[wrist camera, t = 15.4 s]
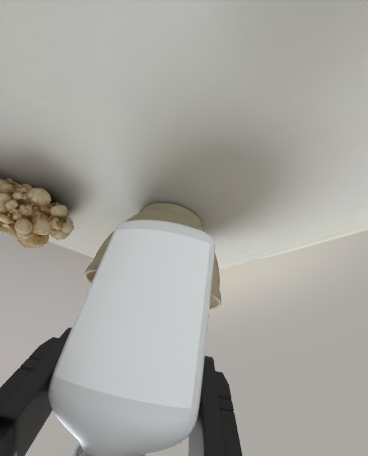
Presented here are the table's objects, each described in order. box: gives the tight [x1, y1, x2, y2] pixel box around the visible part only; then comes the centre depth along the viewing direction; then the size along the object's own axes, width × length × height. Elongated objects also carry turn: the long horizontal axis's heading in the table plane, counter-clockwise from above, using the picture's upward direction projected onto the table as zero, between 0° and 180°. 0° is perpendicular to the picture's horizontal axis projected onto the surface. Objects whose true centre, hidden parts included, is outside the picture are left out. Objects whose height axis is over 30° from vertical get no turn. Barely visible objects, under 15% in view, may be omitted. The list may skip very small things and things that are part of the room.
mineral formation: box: [0, 178, 74, 248], centre depth 27 cm, size 8×13×15 cm
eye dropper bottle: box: [48, 220, 215, 456], centre depth 8 cm, size 4×6×12 cm
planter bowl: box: [84, 203, 221, 310], centre depth 25 cm, size 16×16×11 cm
